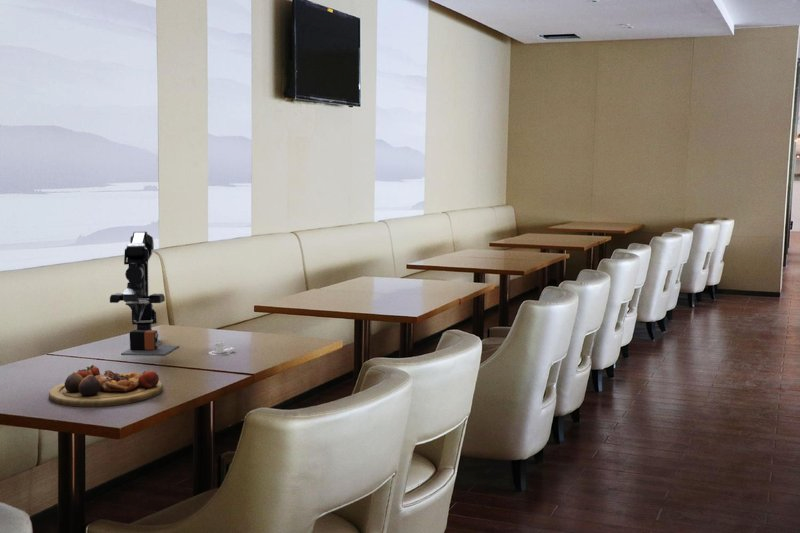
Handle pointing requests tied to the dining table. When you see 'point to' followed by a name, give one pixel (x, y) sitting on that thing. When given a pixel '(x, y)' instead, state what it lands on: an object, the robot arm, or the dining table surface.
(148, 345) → the battery
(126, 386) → the wooden plate with food
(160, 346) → the mat
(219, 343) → the teacup and saucer
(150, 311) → the robot arm
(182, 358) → the dining table surface
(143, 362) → the dining table surface
